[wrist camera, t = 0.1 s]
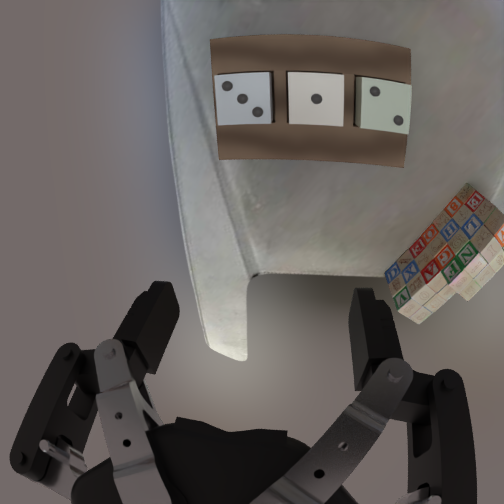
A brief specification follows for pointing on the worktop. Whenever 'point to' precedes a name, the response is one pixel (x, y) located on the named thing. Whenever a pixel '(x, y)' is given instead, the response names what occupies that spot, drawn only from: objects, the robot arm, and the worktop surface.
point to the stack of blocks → (449, 256)
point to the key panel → (279, 64)
